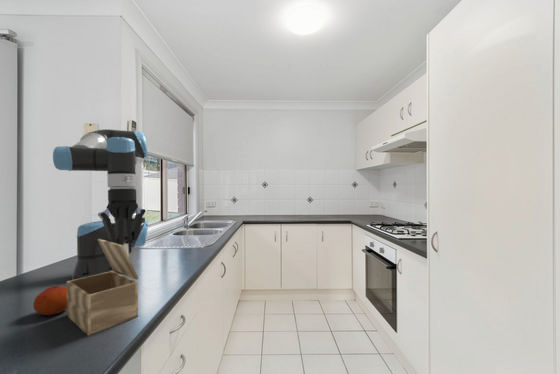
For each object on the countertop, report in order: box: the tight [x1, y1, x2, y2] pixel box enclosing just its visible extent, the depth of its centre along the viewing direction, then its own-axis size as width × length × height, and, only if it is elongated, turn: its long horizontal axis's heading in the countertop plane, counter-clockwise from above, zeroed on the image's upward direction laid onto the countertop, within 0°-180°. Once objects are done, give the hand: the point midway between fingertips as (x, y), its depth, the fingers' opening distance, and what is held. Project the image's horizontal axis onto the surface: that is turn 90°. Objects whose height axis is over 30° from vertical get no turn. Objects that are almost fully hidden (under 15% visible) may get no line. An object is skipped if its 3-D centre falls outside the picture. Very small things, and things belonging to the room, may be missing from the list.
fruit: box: [33, 285, 67, 316], centre depth 79 cm, size 9×9×8 cm
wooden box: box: [66, 271, 139, 337], centre depth 76 cm, size 18×12×10 cm, turn 53°
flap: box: [98, 239, 139, 281], centre depth 79 cm, size 17×11×1 cm
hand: (124, 264), depth 81 cm, fingers closed
